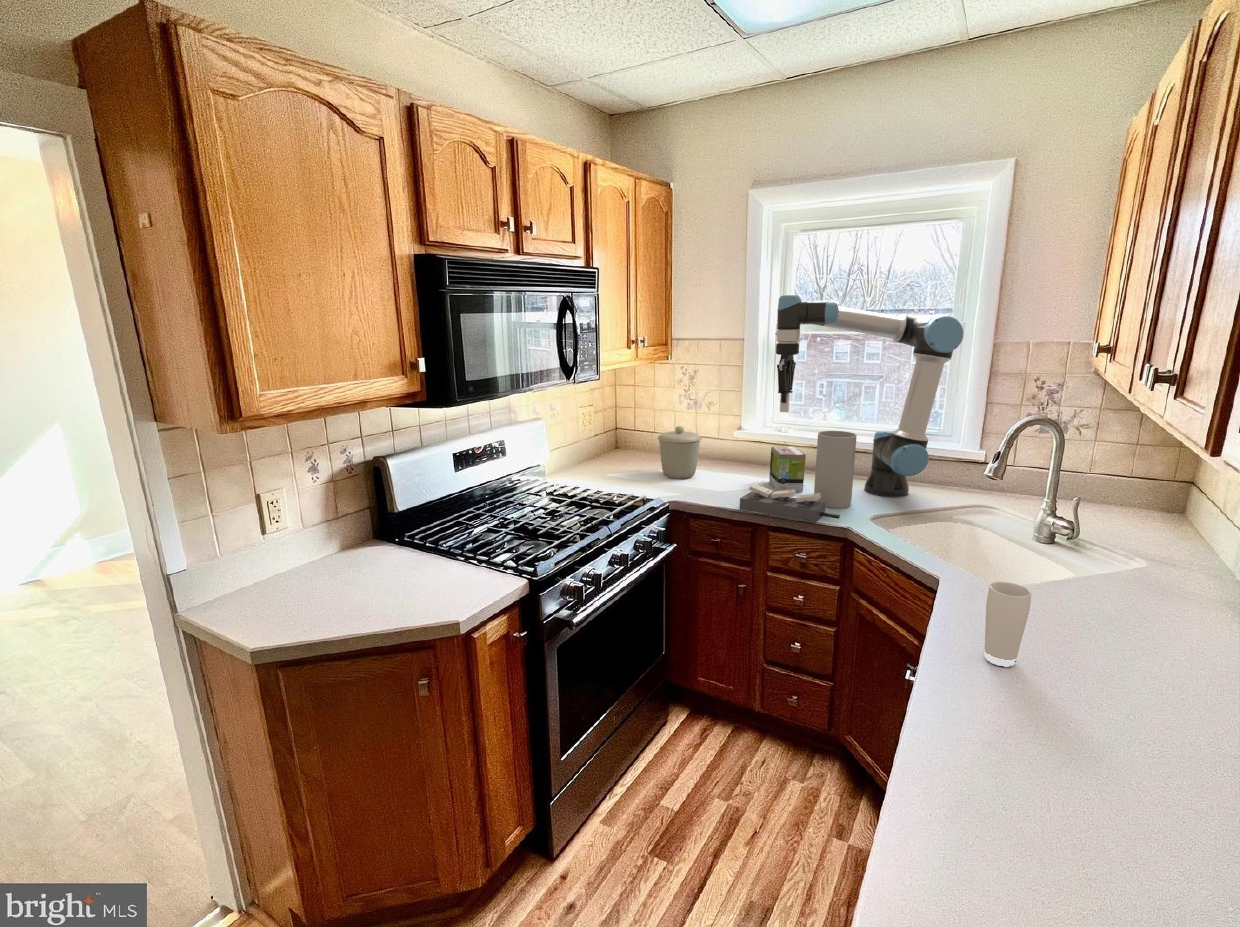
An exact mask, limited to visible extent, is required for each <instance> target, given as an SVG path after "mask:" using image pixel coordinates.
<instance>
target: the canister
mask: <svg viewBox="0 0 1240 927" xmlns="http://www.w3.org/2000/svg"><path fill="white" fill-rule="evenodd" d="M656 439H657V440H659V441H658V442H659V445H658V446H659V450H660V451H659V452H660V453H659V454H660V462H661V467H662V468H661V469H662V473H663V475H664V476H665V477H667V478H669V479H677V480H682V479H683V480H684V479H690V478H692V477H694V475H695V473H696V471H697V466H698V458H699V452H700V451H699V450H700V443H701V440H702V439H703V437H702V436H700V435H699V434H698V433H696V432H691V431H686V430H685V427H683V426H682V425H677V426H676V427H675V431H674V430H673V431H666V432H663V433H661V434H660V435H658V436H657V438H656Z"/></svg>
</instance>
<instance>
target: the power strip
mask: <svg viewBox="0 0 1240 927" xmlns="http://www.w3.org/2000/svg"><path fill="white" fill-rule="evenodd" d="M796 498H797V497H785V498H784V497H779V498H772V496H769V497H768V498H767V497H764V496H762V495H760V493H755V492H753V491H749V492H747V493H746V494H744V495H742V496H741V497H739V510H741V511H747V512H751V513H752V512H754V513H757V514H758V513H759V514H765V515H769V516H775V517H782V518H788V519H794V520H797V521H804V522H811V523H817V522H818V521H819V520H820V519H821V518H822V517H825V518H832V519H836V520H840V517H841V515H840V514H834V513H828V512H826V511H825V510H826V507H825V503H824V502H817V501H810V502H809V501H805V500H804V502H796Z"/></svg>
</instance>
